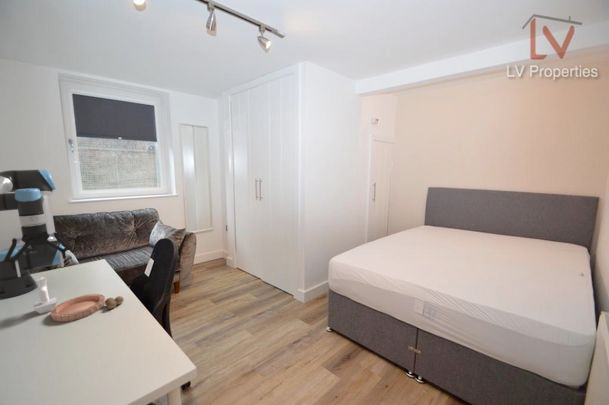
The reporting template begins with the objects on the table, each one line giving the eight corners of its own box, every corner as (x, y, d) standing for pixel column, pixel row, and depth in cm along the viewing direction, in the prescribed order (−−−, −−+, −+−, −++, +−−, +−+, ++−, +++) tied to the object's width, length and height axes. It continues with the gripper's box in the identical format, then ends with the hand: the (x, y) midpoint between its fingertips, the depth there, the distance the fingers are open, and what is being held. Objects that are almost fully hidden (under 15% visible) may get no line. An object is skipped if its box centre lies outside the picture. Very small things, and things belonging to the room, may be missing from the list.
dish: (49, 311, 116) (48, 305, 115) (100, 295, 129) (100, 290, 129) (54, 328, 103) (52, 321, 103) (110, 308, 117) (109, 302, 117)
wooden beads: (104, 305, 120) (103, 298, 119) (121, 299, 125) (120, 292, 124) (108, 311, 115) (107, 303, 114) (126, 304, 120) (125, 297, 119)
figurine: (35, 317, 111) (28, 285, 109) (35, 309, 118) (30, 278, 116) (58, 310, 116) (52, 279, 114) (57, 303, 123) (52, 273, 121)
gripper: (-13, 231, 99) (-2, 283, 102) (73, 220, 118) (80, 264, 121) (-12, 228, 104) (-2, 278, 107) (70, 218, 122) (77, 260, 126)
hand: (41, 270), depth 114 cm, fingers open, 13 cm apart
